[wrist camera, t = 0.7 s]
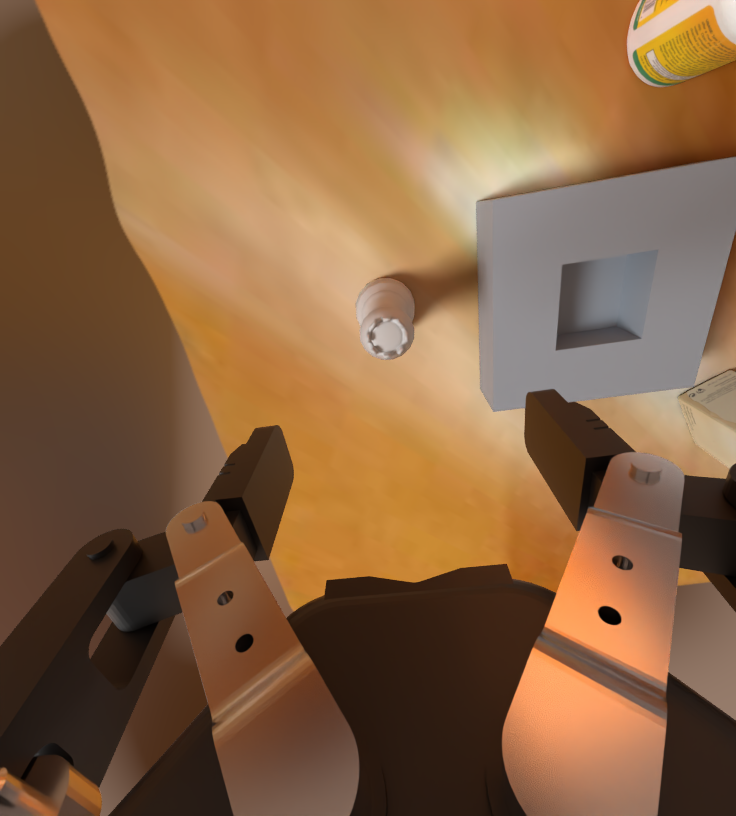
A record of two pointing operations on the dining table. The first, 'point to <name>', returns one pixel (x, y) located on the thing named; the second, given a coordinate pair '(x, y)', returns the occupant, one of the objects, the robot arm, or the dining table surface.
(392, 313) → the rook chess piece
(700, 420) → the skincare box
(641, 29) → the supplement bottle
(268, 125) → the dining table surface
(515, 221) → the socket block
